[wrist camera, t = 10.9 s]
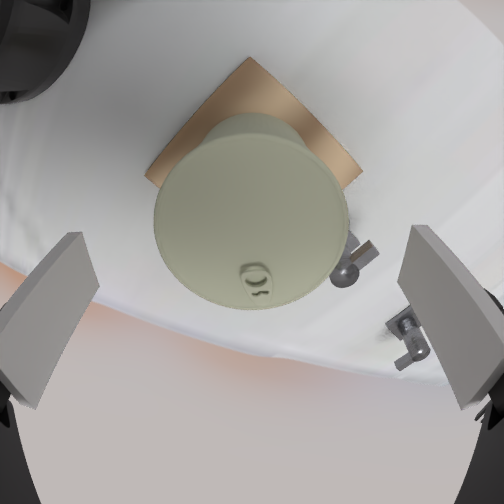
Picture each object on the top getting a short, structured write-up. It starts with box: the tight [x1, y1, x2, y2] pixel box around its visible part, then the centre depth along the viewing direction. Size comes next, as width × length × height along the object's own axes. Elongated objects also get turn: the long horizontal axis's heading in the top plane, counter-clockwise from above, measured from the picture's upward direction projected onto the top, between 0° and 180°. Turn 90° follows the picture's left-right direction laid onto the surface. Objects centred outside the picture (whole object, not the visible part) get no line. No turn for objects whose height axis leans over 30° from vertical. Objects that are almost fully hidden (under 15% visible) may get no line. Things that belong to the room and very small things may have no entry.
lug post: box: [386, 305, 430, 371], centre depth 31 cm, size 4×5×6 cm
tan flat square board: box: [144, 57, 363, 190], centre depth 24 cm, size 13×13×1 cm
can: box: [154, 113, 349, 310], centre depth 18 cm, size 9×9×12 cm
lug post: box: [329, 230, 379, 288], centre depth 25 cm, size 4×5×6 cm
